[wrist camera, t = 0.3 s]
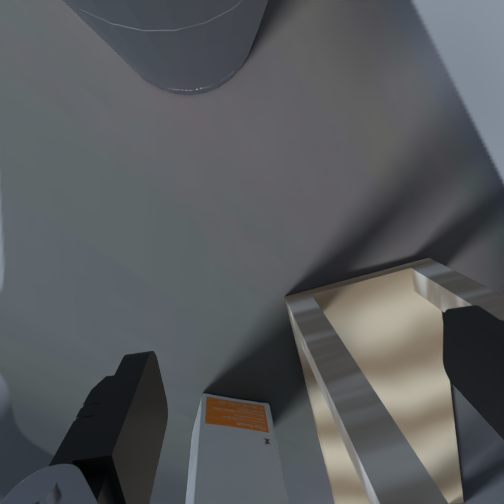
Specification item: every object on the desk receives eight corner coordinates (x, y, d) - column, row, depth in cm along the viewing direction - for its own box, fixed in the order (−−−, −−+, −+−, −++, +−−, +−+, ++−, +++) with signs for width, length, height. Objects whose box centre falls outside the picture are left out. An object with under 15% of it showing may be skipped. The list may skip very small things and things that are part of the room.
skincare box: (270, 400, 32) (300, 539, 21) (258, 441, 33) (280, 595, 22) (200, 390, 31) (191, 529, 20) (190, 432, 32) (175, 588, 21)
